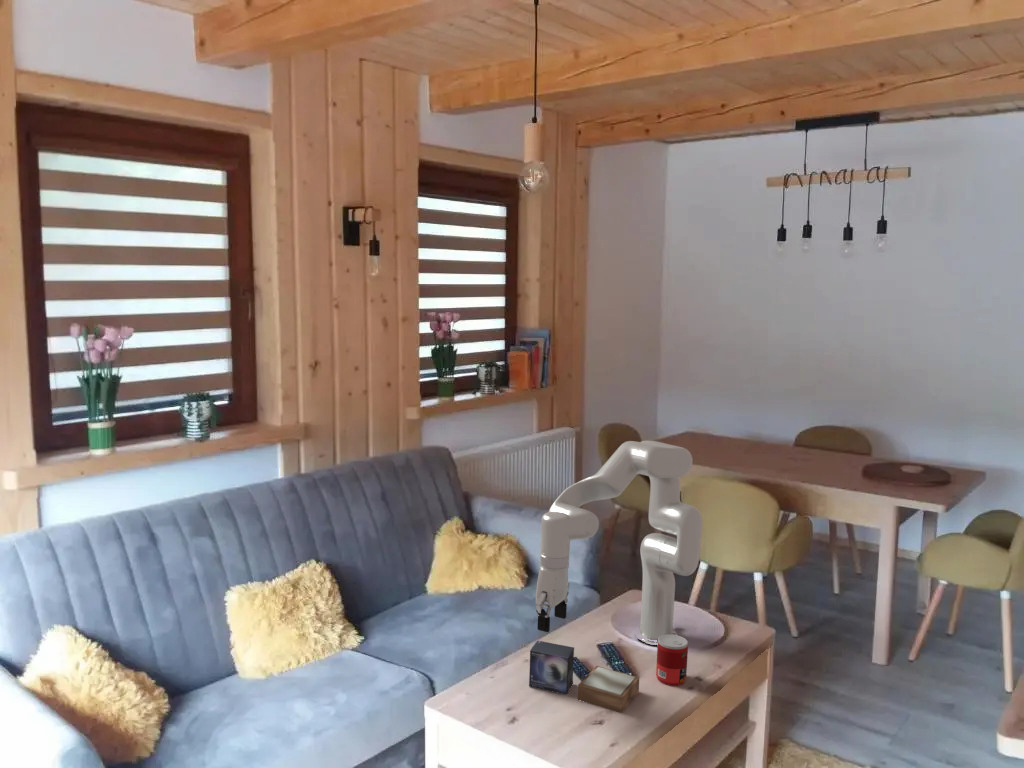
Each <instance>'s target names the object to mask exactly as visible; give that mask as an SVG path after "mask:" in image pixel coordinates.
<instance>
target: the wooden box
mask: <svg viewBox="0 0 1024 768" xmlns="http://www.w3.org/2000/svg"><path fill="white" fill-rule="evenodd" d="M639 690H640V676H639V677H638V676H637V675H636V676H635V675H632V674H628V673H626V672H625V673H624V672H621V671H617V670H612V669H610V668H606V667H602V666H599V665H596V666H595V667H594V668H592V670H591V671H590V672H589V673H587V675H586V676H585V677H584V678H583V679H582V680H581V681H580V682H579V683H578V684H577V694H576V695H577V697H576V698H577V699H578V700H577V701H579V700H581V701H580V702H583V701H584V702H583V703H586V702H587V704H589V703H590V705H593V706H597V707H599V706H600V707H599V708H603V709H607V710H610V711H613V712H617V713H619V714H620V713H621V714H622V713H623V712H624V711H625V709H626V708H627V707H628V706H629V704H631V702H632V701H633V700H634V699H635V697H636V696H637V695H638V693H639Z"/></svg>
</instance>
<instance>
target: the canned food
mask: <svg viewBox="0 0 1024 768" xmlns="http://www.w3.org/2000/svg"><path fill="white" fill-rule="evenodd" d="M656 647H657V649H656V669H655V671H656V673H655V674H656V675H655V676H656V679H657V680H658V681H659V682H660V683H661V684H664V685H667V686H675V687H676V686H681V685H683V684H684V683H685V682H686V680H687V673H688V672H687V667H688V654H689V653H688V652H689V641H688V640H687V639H686V638H685V637H683V636H681V635H678V634H677V635H671V634H668V635H662V636H660V637H659V638H658V645H657V646H656Z"/></svg>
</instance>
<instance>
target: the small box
mask: <svg viewBox="0 0 1024 768" xmlns="http://www.w3.org/2000/svg"><path fill="white" fill-rule="evenodd" d="M574 656H575V647H573V646H568V645H563V644H557V643H553V642H547V641H542V640H536V642H535V643H534V644H533V646H532V647H531V648H530V650H529V676H528V677H529V679H528V681H529V682H528V686H529V687H530V688H534V689H539V690H543V691H547V690H548V691H549V692H552V691H553V692H552V693H557V692H558V694H561V693H562V694H563V695H566V694H567V695H568V693H569V692H568V691H570V690H571V688H572V687H573V685H574V681H573V680H574V663H575V661H574ZM572 684H573V685H572ZM571 686H572V687H571ZM569 689H570V690H569ZM548 691H547V692H548Z"/></svg>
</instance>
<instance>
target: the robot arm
mask: <svg viewBox="0 0 1024 768" xmlns="http://www.w3.org/2000/svg"><path fill="white" fill-rule="evenodd" d="M692 467H693V456H692V453H691V452H690V451H689V450H688V449H687V448H686V447H681V446H678V445H673V444H669V443H665V442H661V441H658V440H657V441H656V440H642V441H633V440H628V441H624V442H623V443H621V444H620V446H618V448H617V449H616V450H615V451H614V452H613V453H612V455H611V456H610V457H609V459H607V460H606V462H605V463H604V464H603V465H602V466H601V468H600V469H599V470H598V471H597V472H596V473H594V474H593V475H591V476H589V477H586V478H584V479H581V480H579V481H578V482H576V483H573V484H571V485H569V486H568V487H566V488H565V489H564V490H563V491H562V492H561V494H559V496H558V497H556V499H555V500H554V502H553V503H552V504H551V506H550V508H549V509H548V512H545V513H544V514H543V515H542V516H541V520H540V522H541V523H540V527H541V528H540V547H539V548H540V550H539V567H540V568H539V572H538V576H537V583H536V592H535V608H536V609H535V611H536V616H537V630H538V631H541V632H545V633H549V632H550V628H551V627H550V625H551V616H550V613H551V610H552V609H553V608H554V614H553V616H554V617H555V618H560V619H564V620H565V619H567V609H568V608H567V606H568V595H569V590H570V589H569V588H570V582H569V567H570V549H571V548H570V547H571V541H575V540H576V541H579V540H587V539H590V538H592V537H594V535H595V534H597V532H598V530H599V527H600V523H599V522H600V520H599V518H598V517H597V515H596V514H595V513H594V512H592V511H591V510H587V509H584V508H582V505H585V504H588V503H591V502H594V501H602V500H608V499H614V498H617V497H620V495H622V494H623V492H624V491H625V489H627V487H628V486H629V484H630V483H631V482H632V481H633V480H634V478H636V476H637V475H642V476H647V477H648V478H649V481H650V489H649V490H650V491H649V492H650V493H649V503H648V523H649V525H650V526H651V527H652V528H654V529H655V530H657V531H660V532H663V533H667V534H670V535H673V536H670V535H666V534H663V533H659V532H652V533H649V534H646V536H644V538H643V539H642V540H641V542H640V549H639V551H640V559H641V567H642V568H641V569H642V586H641V607H640V626H638V627H637V628H640V629H639V630H640V634H641V635H642V636H644V637H645V638H647V639H650V640H657V642H656V643H658V638H659V637H660V636H662V635H668V634H671V635H678V633H677V632H676V631H675V630H673V629H674V612H675V611H674V610H675V592H676V579H675V575H679V576H682V577H683V576H685V577H689V576H690V575H692V574H693V573H695V571H696V570H697V568H698V565H699V563H700V562H699V560H700V556H701V555H700V554H701V544H702V534H703V533H702V531H703V518H702V514H701V512H700V510H699V509H698V508H697V507H696V506H694V505H692V504H688V503H684V502H681V481H680V478H684V477H685V476H686V475H688V474H689V472H690V471H691V469H692ZM674 536H676V538H675V537H674ZM674 574H675V575H674ZM544 608H546V610H545V609H544ZM642 640H644V639H642ZM644 641H646V642H651V643H655V642H654V641H649V640H644Z"/></svg>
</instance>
